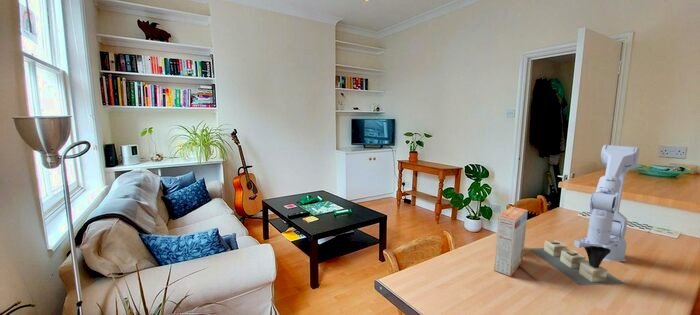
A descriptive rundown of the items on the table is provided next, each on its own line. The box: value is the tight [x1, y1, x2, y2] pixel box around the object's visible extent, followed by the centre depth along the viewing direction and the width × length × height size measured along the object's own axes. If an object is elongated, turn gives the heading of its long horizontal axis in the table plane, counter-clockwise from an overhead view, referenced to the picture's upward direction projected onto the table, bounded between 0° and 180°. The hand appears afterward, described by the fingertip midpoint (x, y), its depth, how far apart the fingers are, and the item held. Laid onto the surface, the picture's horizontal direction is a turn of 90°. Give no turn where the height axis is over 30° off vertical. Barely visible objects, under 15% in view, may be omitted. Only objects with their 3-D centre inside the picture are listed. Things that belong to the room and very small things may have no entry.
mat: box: [528, 247, 626, 286], centre depth 107 cm, size 16×25×1 cm, turn 4°
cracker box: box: [493, 206, 528, 277], centre depth 105 cm, size 14×6×21 cm, turn 134°
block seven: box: [560, 250, 586, 268], centre depth 107 cm, size 5×5×4 cm
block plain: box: [579, 262, 608, 282], centre depth 99 cm, size 5×5×4 cm
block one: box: [543, 239, 567, 256], centre depth 115 cm, size 5×5×4 cm
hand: (593, 266), depth 98 cm, fingers closed, pressing on block plain
